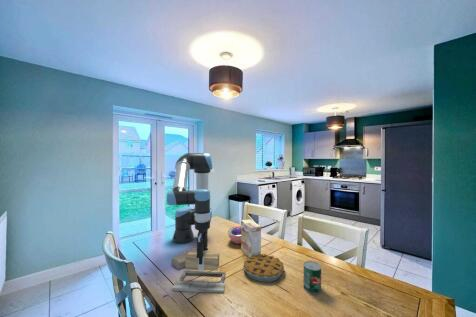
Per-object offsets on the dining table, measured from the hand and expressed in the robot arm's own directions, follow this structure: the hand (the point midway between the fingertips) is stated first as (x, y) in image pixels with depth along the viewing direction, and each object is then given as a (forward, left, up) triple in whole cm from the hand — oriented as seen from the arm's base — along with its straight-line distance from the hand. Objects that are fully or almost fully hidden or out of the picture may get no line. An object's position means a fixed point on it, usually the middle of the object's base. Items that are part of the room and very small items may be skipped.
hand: (202, 266), depth 101 cm
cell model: (-46, +16, -7) cm, 49 cm away
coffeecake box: (-29, +24, -7) cm, 38 cm away
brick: (-17, -13, -7) cm, 23 cm away
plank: (0, 0, 0) cm, 0 cm away
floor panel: (+1, 0, -7) cm, 7 cm away
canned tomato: (+3, +53, -7) cm, 54 cm away
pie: (-10, +31, -7) cm, 33 cm away
